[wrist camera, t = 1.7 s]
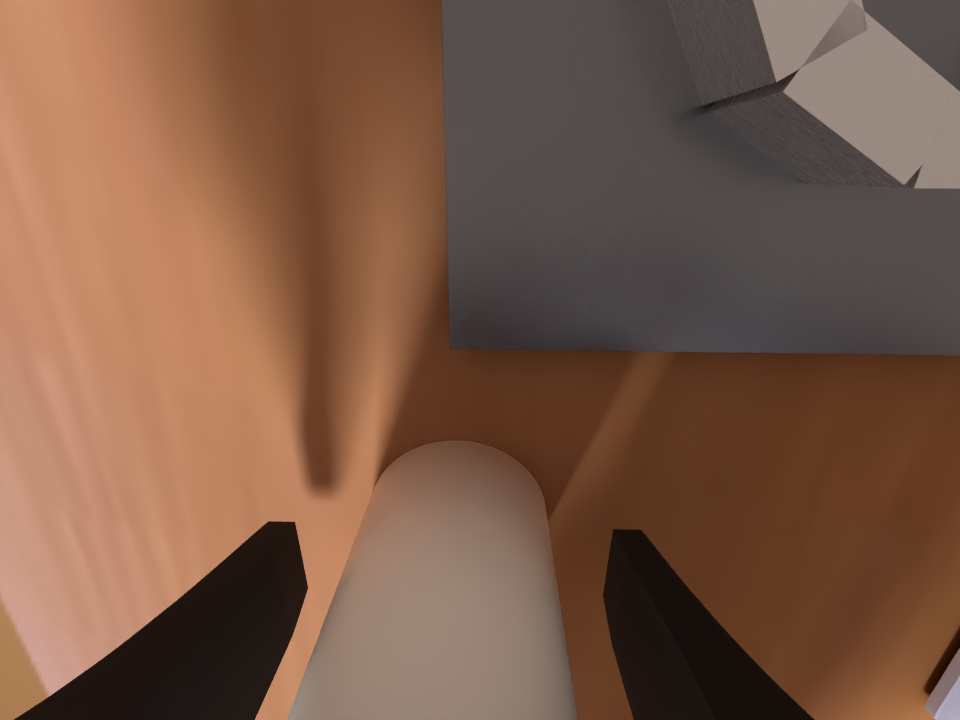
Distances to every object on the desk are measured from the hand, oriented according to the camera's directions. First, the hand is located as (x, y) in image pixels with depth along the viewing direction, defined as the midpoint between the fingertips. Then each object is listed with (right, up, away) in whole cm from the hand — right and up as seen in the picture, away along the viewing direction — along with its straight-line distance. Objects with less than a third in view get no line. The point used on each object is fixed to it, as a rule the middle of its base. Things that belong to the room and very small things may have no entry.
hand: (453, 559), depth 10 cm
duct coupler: (0, +1, +1) cm, 1 cm away
